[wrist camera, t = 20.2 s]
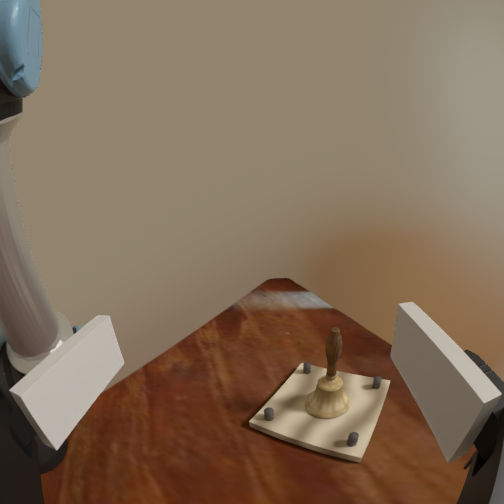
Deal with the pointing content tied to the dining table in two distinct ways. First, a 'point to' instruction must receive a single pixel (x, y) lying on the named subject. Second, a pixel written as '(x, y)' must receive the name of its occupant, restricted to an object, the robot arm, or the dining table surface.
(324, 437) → the board
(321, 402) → the hand bell
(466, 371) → the robot arm
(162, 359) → the dining table surface
